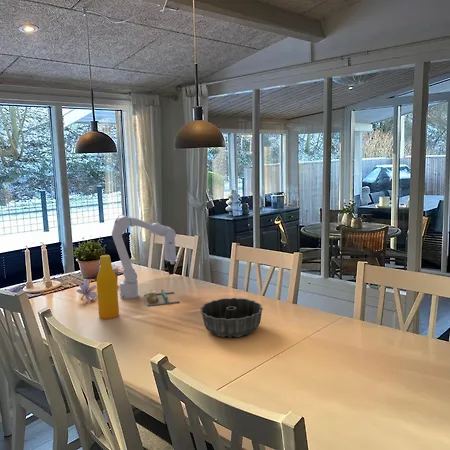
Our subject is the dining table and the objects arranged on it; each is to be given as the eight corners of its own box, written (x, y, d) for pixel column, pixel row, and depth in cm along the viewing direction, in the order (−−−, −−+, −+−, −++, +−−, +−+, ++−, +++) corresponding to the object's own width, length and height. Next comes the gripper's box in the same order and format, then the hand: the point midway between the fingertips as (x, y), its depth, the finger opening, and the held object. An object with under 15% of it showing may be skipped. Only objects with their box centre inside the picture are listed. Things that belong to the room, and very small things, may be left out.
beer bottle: (113, 319, 201) (109, 258, 197) (95, 318, 203) (91, 257, 199) (122, 313, 210) (118, 253, 206) (104, 312, 212) (100, 253, 208)
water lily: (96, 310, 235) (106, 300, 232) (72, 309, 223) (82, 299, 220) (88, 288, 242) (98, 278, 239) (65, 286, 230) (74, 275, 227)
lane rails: (147, 308, 216) (147, 305, 216) (144, 297, 233) (144, 294, 233) (179, 304, 220) (179, 301, 220) (174, 294, 237) (173, 291, 237)
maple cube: (147, 302, 223) (146, 293, 222) (146, 299, 227) (145, 291, 226) (156, 301, 224) (155, 292, 223) (155, 298, 228) (154, 290, 227)
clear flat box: (145, 307, 217) (145, 299, 217) (142, 298, 232) (142, 291, 231) (167, 304, 220) (167, 297, 220) (163, 296, 234) (163, 289, 234)
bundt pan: (208, 346, 170) (208, 322, 169) (195, 322, 195) (194, 301, 194) (272, 338, 177) (272, 314, 176) (251, 316, 202) (250, 295, 201)
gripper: (179, 251, 231) (180, 276, 233) (175, 246, 245) (176, 270, 247) (166, 253, 229) (167, 278, 231) (162, 247, 243) (163, 271, 245)
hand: (171, 274), depth 239 cm, fingers closed
